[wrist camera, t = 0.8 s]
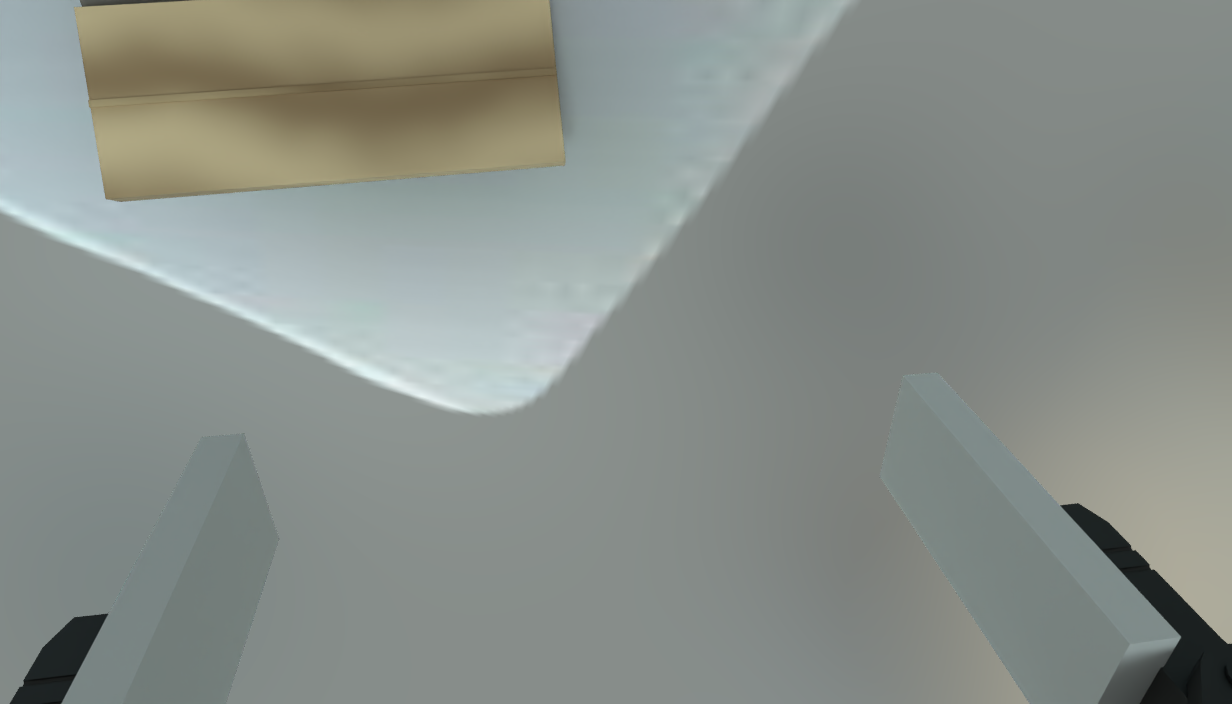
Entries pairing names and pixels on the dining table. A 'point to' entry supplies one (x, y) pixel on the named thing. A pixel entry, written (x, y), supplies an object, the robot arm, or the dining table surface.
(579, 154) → the dining table surface
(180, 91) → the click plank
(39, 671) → the robot arm
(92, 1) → the laid floor
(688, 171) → the dining table surface
